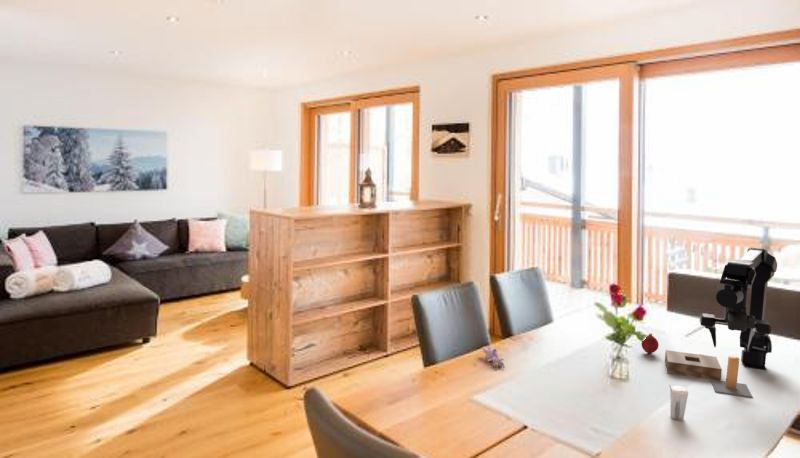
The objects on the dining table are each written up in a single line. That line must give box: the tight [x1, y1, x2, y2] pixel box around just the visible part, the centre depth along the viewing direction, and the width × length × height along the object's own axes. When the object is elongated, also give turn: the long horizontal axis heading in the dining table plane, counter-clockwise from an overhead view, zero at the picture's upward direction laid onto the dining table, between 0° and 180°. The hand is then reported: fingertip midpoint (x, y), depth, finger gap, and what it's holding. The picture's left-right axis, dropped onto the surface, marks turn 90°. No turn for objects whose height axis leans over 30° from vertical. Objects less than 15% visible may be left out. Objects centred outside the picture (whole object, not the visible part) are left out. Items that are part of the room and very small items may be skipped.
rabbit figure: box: [482, 346, 506, 370], centre depth 192 cm, size 6×6×15 cm
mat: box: [710, 379, 753, 399], centre depth 171 cm, size 10×10×1 cm
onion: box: [640, 332, 660, 355], centre depth 200 cm, size 6×6×8 cm
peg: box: [725, 355, 740, 390], centre depth 170 cm, size 3×3×10 cm
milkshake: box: [668, 384, 689, 422], centre depth 151 cm, size 4×5×10 cm
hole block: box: [664, 349, 723, 381], centre depth 186 cm, size 16×12×4 cm
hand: (731, 349), depth 170 cm, fingers open, 9 cm apart
